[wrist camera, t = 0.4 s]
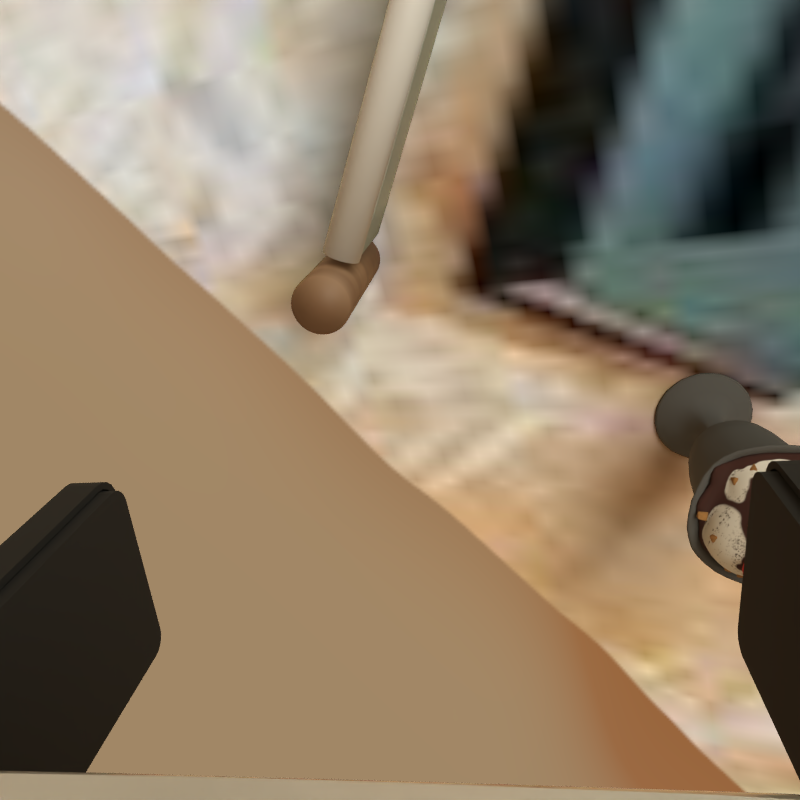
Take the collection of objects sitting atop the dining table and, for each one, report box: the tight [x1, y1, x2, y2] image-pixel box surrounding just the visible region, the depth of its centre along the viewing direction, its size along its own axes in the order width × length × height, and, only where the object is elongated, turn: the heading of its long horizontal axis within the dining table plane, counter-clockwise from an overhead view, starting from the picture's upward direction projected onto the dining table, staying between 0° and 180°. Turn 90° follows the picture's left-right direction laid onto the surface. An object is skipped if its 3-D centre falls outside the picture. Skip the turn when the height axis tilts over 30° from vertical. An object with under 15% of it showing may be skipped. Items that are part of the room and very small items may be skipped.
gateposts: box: [291, 242, 380, 334], centre depth 29 cm, size 23×2×9 cm, turn 163°
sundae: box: [655, 373, 800, 583], centre depth 32 cm, size 7×7×15 cm
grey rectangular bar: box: [323, 0, 447, 264], centre depth 29 cm, size 18×2×7 cm, turn 163°
